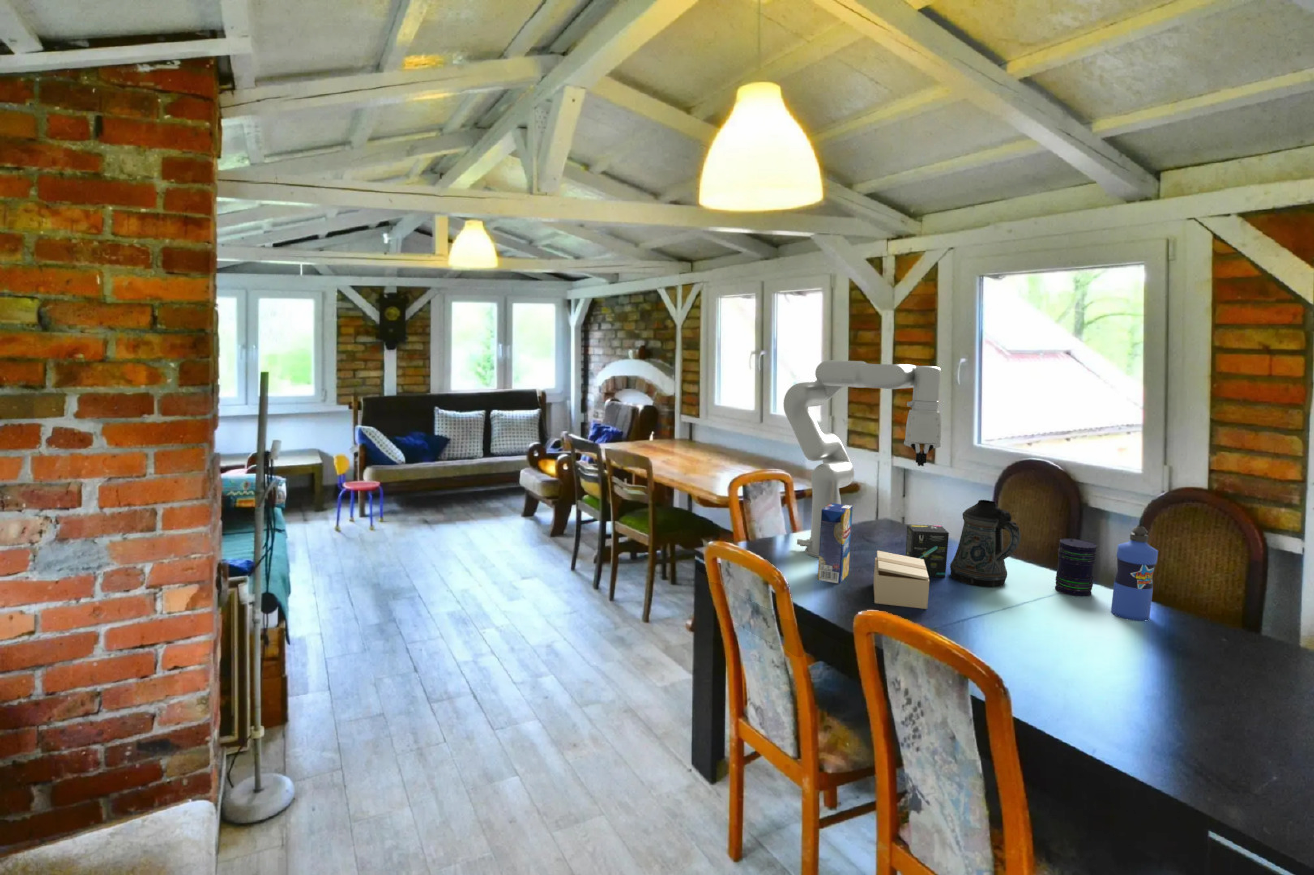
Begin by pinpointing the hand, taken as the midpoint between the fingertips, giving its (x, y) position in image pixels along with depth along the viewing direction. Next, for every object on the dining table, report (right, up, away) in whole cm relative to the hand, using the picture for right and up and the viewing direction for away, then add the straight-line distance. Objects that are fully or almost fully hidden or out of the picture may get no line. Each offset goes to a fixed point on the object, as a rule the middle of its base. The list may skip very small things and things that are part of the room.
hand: (920, 465), depth 232 cm
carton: (-12, -37, -15) cm, 42 cm away
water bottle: (+49, -41, -26) cm, 68 cm away
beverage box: (-27, -35, 0) cm, 44 cm away
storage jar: (+43, -38, -7) cm, 58 cm away
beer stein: (+20, -36, +1) cm, 41 cm away
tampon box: (+4, -35, +8) cm, 36 cm away
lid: (-11, -28, -16) cm, 35 cm away
